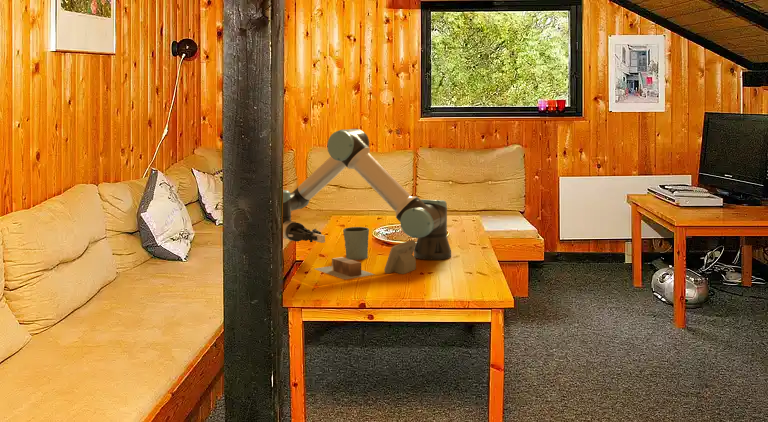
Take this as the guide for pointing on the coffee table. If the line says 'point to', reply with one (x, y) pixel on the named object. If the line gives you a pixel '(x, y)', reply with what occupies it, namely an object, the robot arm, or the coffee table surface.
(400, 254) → the digital clock
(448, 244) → the robot arm
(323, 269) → the felt mat
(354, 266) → the walnut block
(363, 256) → the grey green cup
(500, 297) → the coffee table surface
